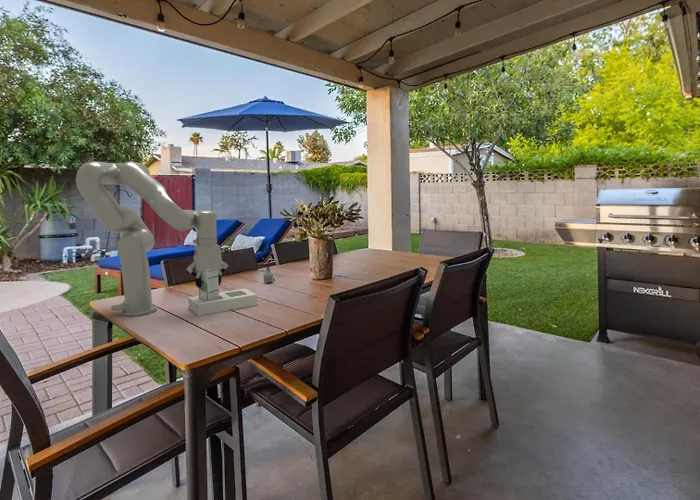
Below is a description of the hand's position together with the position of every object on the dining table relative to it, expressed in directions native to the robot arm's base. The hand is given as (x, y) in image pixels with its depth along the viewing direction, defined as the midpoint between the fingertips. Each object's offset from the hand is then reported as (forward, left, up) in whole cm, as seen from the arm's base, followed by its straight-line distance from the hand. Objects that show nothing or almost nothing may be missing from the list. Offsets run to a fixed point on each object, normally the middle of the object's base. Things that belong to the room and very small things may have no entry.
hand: (208, 285), depth 166 cm
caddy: (+5, 0, -10) cm, 11 cm away
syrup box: (0, 0, -7) cm, 7 cm away
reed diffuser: (+38, +28, -10) cm, 49 cm away
